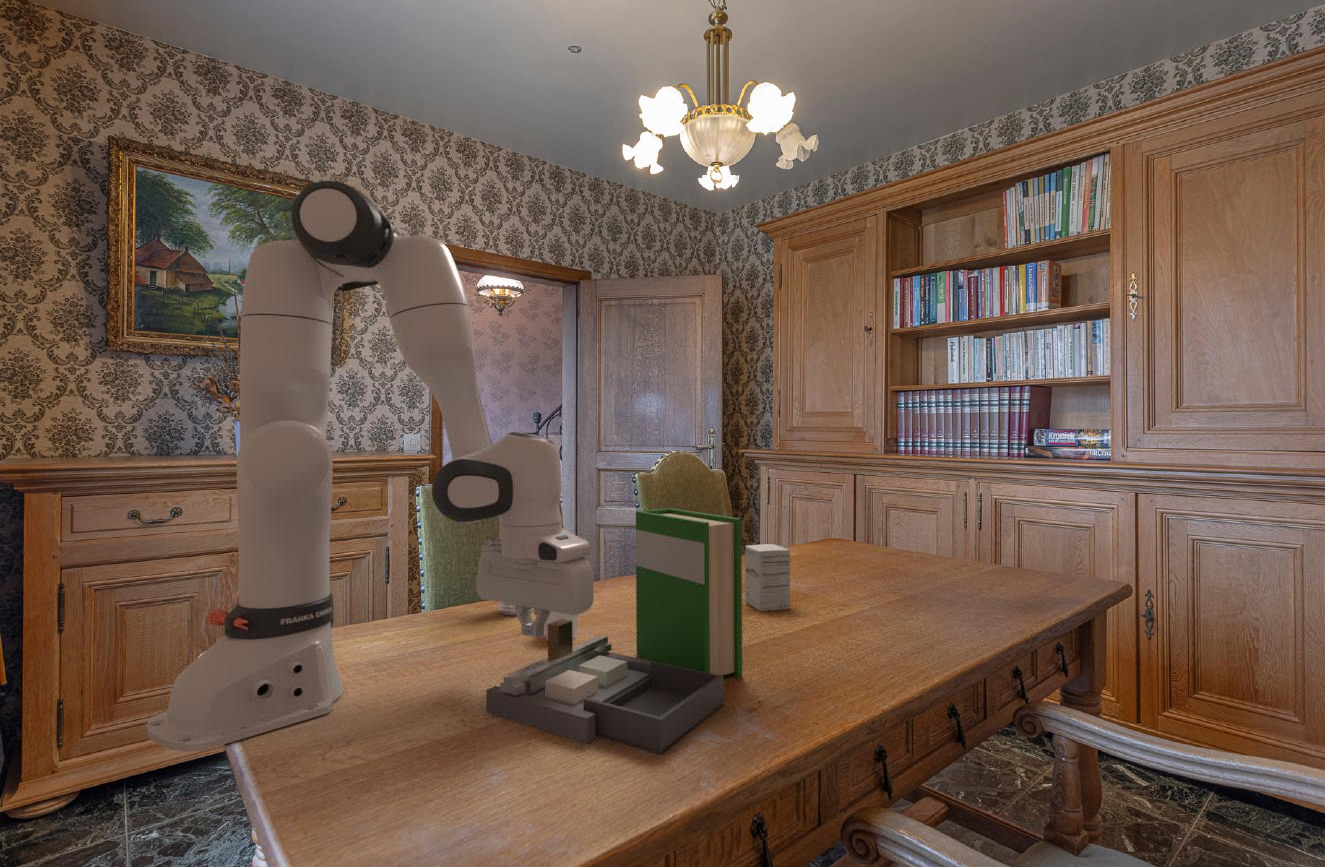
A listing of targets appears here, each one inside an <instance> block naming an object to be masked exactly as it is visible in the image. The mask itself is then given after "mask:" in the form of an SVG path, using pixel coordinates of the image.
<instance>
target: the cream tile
mask: <svg viewBox="0 0 1325 867" xmlns="http://www.w3.org/2000/svg"><path fill="white" fill-rule="evenodd" d="M596 692H598V677H597V676H593V675H589V674H585V673H581V672H576V671H572V670H568V671H566V672H564V673H562V674H560V675H557V676H555V677H553V678H551V679H549V680H547V681H545V696H546V697H550V698H553V699H557V700H560V701H564V702H568V703H571V704H576V703H578V702H579V701H581V700H583V699H585V698H587V697H589V696H590V695H592V694H594V693H596Z"/></svg>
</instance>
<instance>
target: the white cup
mask: <svg viewBox="0 0 1325 867" xmlns="http://www.w3.org/2000/svg"><path fill="white" fill-rule="evenodd" d="M560 619H564V620H570V621H572V640H574V639H575V638H577V635H578V625H579V614H578V615H570V614H565V613H559V612H553V611H550V615H549V617H548V619H547V621H546V622H545V624H544V635H545V639H546V640H547V639H548V624H549V623H552V622H555V621H558V620H560ZM573 638H574V639H573Z"/></svg>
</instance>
